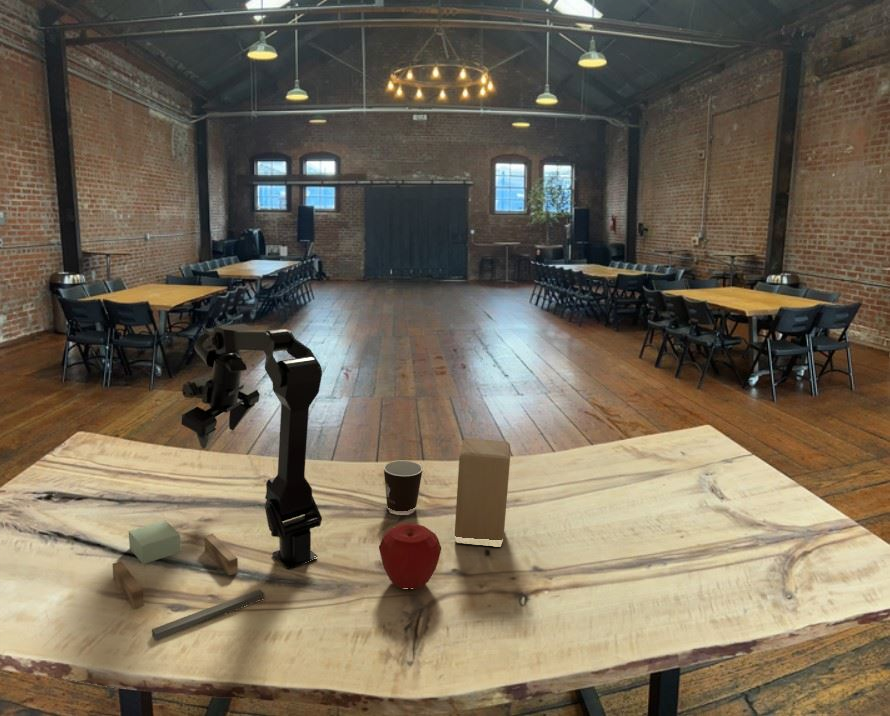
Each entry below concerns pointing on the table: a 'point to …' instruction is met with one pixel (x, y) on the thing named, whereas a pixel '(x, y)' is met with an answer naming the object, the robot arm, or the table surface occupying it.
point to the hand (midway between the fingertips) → (217, 438)
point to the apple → (409, 554)
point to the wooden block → (482, 489)
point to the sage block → (154, 541)
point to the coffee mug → (402, 484)
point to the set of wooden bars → (231, 567)
